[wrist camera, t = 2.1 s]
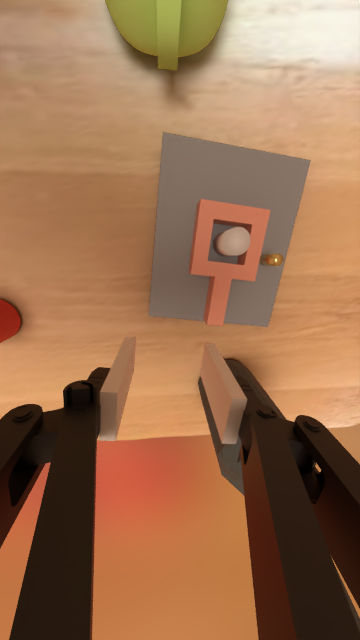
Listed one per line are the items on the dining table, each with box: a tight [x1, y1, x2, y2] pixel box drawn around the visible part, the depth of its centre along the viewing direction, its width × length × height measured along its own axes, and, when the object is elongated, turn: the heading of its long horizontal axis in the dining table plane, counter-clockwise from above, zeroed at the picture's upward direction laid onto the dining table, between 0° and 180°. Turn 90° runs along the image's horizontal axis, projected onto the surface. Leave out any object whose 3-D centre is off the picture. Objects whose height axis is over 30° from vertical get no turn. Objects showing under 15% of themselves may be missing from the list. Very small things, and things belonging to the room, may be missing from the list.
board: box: [149, 132, 311, 327], centre depth 28 cm, size 24×20×8 cm
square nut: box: [188, 199, 271, 326], centre depth 30 cm, size 16×9×3 cm, turn 173°
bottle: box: [198, 360, 360, 632], centre depth 25 cm, size 10×10×30 cm
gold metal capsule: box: [259, 254, 284, 266], centre depth 30 cm, size 2×2×4 cm
